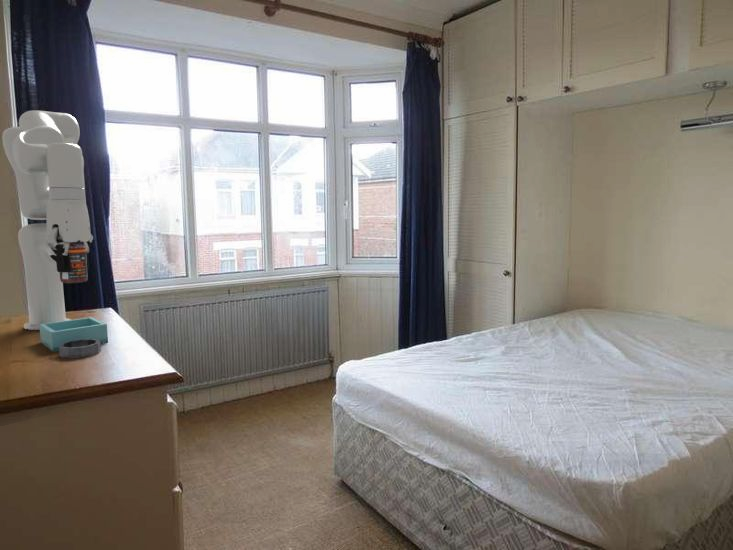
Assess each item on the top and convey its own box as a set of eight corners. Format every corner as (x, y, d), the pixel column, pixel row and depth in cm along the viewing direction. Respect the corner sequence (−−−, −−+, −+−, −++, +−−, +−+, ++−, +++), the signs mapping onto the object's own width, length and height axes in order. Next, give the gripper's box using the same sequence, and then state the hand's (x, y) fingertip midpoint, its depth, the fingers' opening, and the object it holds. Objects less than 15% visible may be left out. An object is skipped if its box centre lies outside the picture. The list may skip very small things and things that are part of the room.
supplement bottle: (67, 284, 121) (63, 237, 119) (55, 282, 124) (51, 236, 122) (93, 281, 126) (89, 235, 124) (80, 279, 129) (77, 235, 127)
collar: (55, 353, 127) (55, 343, 127) (94, 346, 133) (93, 337, 133) (65, 360, 121) (64, 350, 120) (105, 353, 127) (104, 343, 127)
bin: (40, 342, 138) (39, 324, 137) (93, 334, 147) (91, 317, 146) (53, 351, 128) (51, 332, 128) (108, 342, 137) (106, 324, 137)
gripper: (76, 196, 131) (82, 265, 133) (26, 195, 114) (33, 274, 116) (104, 196, 130) (109, 266, 133) (57, 195, 113) (63, 275, 116)
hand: (73, 269), depth 124 cm, fingers closed on supplement bottle, 6 cm apart
